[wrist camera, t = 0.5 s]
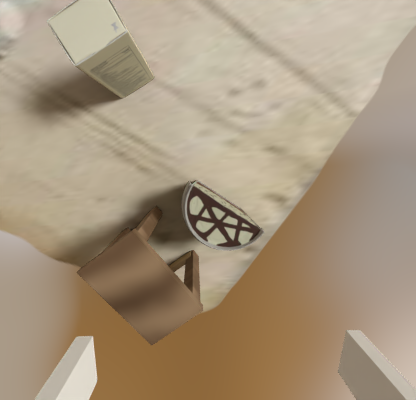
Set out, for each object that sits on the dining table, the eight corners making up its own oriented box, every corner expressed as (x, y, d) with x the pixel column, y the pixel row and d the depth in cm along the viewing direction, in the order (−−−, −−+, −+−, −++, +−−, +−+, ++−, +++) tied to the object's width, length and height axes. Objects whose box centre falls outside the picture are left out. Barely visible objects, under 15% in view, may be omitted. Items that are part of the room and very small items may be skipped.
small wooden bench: (116, 232, 35) (73, 275, 23) (154, 203, 35) (132, 231, 22) (163, 283, 38) (148, 347, 25) (200, 258, 37) (202, 310, 25)
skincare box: (139, 50, 30) (103, -21, 18) (155, 78, 31) (131, 29, 19) (102, 73, 30) (42, 18, 18) (120, 100, 31) (73, 66, 19)
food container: (170, 204, 35) (161, 223, 25) (189, 174, 34) (188, 182, 24) (228, 240, 37) (240, 270, 27) (247, 213, 36) (267, 234, 26)
